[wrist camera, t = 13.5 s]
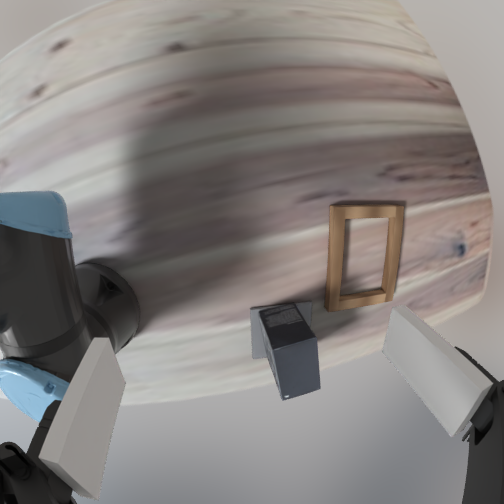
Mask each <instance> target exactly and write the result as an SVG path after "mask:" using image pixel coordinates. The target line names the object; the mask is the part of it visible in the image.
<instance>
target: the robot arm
mask: <svg viewBox="0 0 504 504" xmlns="http://www.w3.org/2000/svg"><path fill="white" fill-rule="evenodd" d="M71 238H72V233H71V232H70V228H69V222H68V216H67V208H66V203H65V201H64V199H63V197H62V196H61V195H60V194H58V193H57V192H54V191H29V192H8V193H0V349H1V351H2V353H3V359H1V360H0V388H1V390H2V391H3V393H4V394H5V395H6V396H7V398H8V399H9V400H10V401H11V402H12V403H13V404H14V405H15V406H16V407H17V408H19V409H20V410H21V411H22V412H24V413H25V414H26V415H28V416H29V417H31V418H33V419H34V420H36V421H38V422H39V427H37V430H36V432H35V434H34V437H33V439H32V441H31V444H30V446H29V449H28V451H27V453H26V454H25V452H24V451H23V450H22V449H21V448H20V447H19V446H18V445H17V444H15V443H13V442H4V443H2V444H1V445H0V504H77V503H76V501H75V499H74V498H73V497H72V496H71V495H72V490H74V491H75V492H76V493H77V494H78V495H80V496H82V497H86V498H90V499H94V500H99V495H100V490H101V484H102V478H103V474H104V468H105V464H106V458H107V454H108V449H109V445H110V441H111V437H112V433H113V429H114V425H115V421H116V417H117V413H118V409H119V406H120V402H121V398H122V395H123V391H124V388H125V384H126V382H125V380H124V377H123V375H122V372H121V370H120V367H119V364H118V362H117V359H116V356H115V354H116V353H117V352H119V351H120V349H122V348H123V347H125V346H126V345H127V344H128V343H129V342H130V341H131V340H132V338H133V336H134V335H135V332H136V330H137V327H138V324H139V319H140V311H139V305H138V301H137V299H136V296H135V294H134V292H133V291H132V289H131V287H130V286H129V285H128V283H127V282H126V281H125V280H124V279H123V278H122V277H121V276H120V275H118V274H117V273H116V272H114V271H113V270H111V269H109V268H107V267H105V266H102V265H99V264H94V263H84V264H79V265H77V266H75V262H74V256H73V248H72V240H71ZM382 352H383V354H384V355H385V356H386V357H387V358H388V360H389V361H390V362H391V363H392V364H393V365H394V367H395V368H396V369H397V370H398V372H399V373H400V374H401V375H402V376H403V378H404V379H405V380H406V381H407V382H408V384H409V385H410V386H411V387H412V389H413V390H414V391H415V392H416V393H417V395H418V396H419V397H420V398H421V400H422V401H423V402H424V403H425V405H426V406H427V407H428V408H429V409H430V411H431V412H432V413H433V415H434V416H435V417H436V418H437V420H438V421H439V422H440V424H441V425H442V426H443V427H444V429H445V430H446V431H447V433H448V434H449V435H450V436H451V437H453V436H455V435H456V434H458V433H459V432H461V431H462V430H464V428H465V427H466V425H467V424H468V423H469V421H471V422H472V426H471V427H470V428H469V430H468V431H467V433H466V434H465V435H464V437H463V439H462V441H464V440H465V439H466V438H467V437H468V435H469V434H470V437H469V438H468V440H467V442H469V457H468V467H467V475H466V483H465V489H464V495H463V501H462V504H504V380H502V381H500V382H499V381H497V380H496V379H495V378H494V377H493V376H492V375H491V374H490V373H489V372H488V371H486V370H485V369H484V368H483V367H482V366H481V365H480V364H477V361H475V360H474V359H472V357H471V356H470V355H469V354H468V353H466V352H465V351H464V350H462V349H459V348H457V347H453V346H452V345H451V344H450V343H449V342H447V341H446V340H445V339H444V338H443V337H441V335H440V334H438V333H437V332H436V331H435V330H434V329H433V328H431V327H430V326H429V325H428V324H427V323H425V322H424V321H423V320H422V319H421V318H420V317H418V316H417V315H416V314H415V313H413V312H412V311H411V310H410V309H409V308H407V307H406V306H405V305H401V306H396V307H392V312H391V316H390V321H389V325H388V330H387V334H386V338H385V342H384V346H383V350H382Z"/></svg>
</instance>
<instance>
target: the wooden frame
mask: <svg viewBox="0 0 504 504" xmlns="http://www.w3.org/2000/svg"><path fill="white" fill-rule="evenodd" d="M403 215H404V206H400V205H330V221H329V247H328V266H327V281H326V294H325V306H324V307H325V309H326V310H327V311H328V312H333V311H339V310H345V309H351V308H357V307H362V306H368V305H373V304H378V303H383V302H388V301H392V299H393V294H394V288H395V282H396V276H397V269H398V262H399V255H400V246H401V237H402V227H403ZM385 217H389V226H388V237H387V247H386V257H385V265H384V272H383V279H382V286H381V289H380V290H374V291H368V292H362V293H355V294H349V295H342V296H340V287H341V276H342V264H343V250H344V233H345V219H355V218H385Z"/></svg>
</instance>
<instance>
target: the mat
mask: <svg viewBox="0 0 504 504" xmlns="http://www.w3.org/2000/svg"><path fill="white" fill-rule="evenodd" d="M295 304H296V306H297V307H298V309H299V310H300V312H301V314H302V315H303V317H304V319H305V320H306V322H307V323H308V325H309V327H310V326H311V313H312V302H311V301H309V302H301V303H295ZM285 305H286V304H285ZM278 306H282V305H276V306H267V307H258V308H250V314H251V336H252V357H253V359H258V358H266V357H267V353H266V349H265V344H264V340H263V335H262V330H261V325H260V320H259V315H258V312H259V311H262V310H266V309H270V308H274V307H278Z"/></svg>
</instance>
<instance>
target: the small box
mask: <svg viewBox="0 0 504 504" xmlns="http://www.w3.org/2000/svg"><path fill="white" fill-rule="evenodd" d="M258 315H259V320H260V325H261V330H262V335H263V340H264V344H265V349H266V353H267V357H268V361H269V364H270V366H271V369H272V372H273V375H274V377H275V381H276V384H277V386H278V390H279V393H280V396H281V399H282V400H287V399H290V398H294V397H297V396H300V395H304V394H307V393H310V392H313V391H316V390H319V389H320V375H319V360H318V346H317V338H316V336H315V334H314V333H313V331H312V330H311V328H310V327H309V325H308V323H307V322H306V320H305V319H304V317H303V315H302V314H301V312H300V310H299V309H298V307H297V306H296V304H295V303H290V304H286V305H282V306H278V307H274V308H270V309H266V310H262V311H259V312H258Z"/></svg>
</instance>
